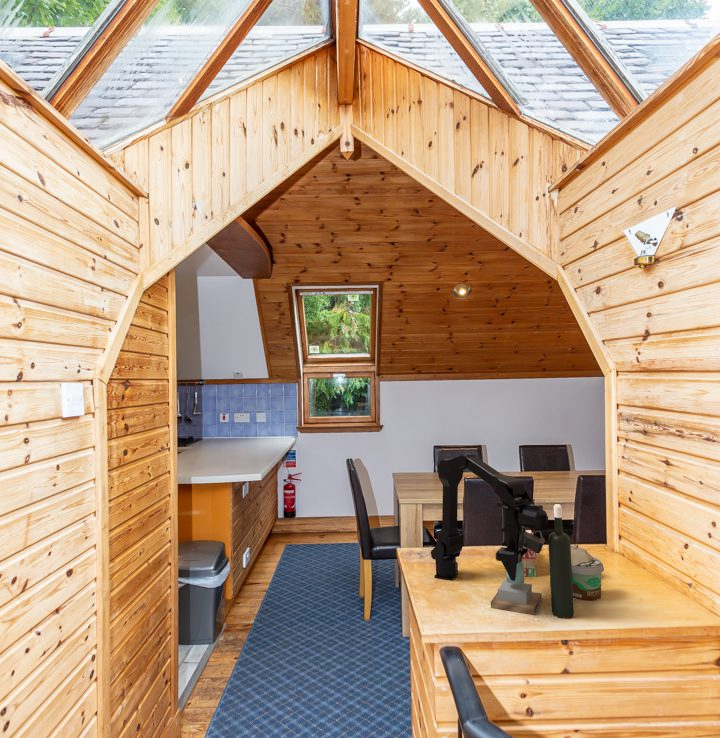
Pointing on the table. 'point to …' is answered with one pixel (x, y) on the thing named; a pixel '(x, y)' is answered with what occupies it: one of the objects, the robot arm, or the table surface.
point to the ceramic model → (579, 555)
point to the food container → (587, 580)
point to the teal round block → (517, 575)
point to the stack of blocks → (529, 562)
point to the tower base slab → (517, 607)
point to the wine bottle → (560, 569)
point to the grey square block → (515, 592)
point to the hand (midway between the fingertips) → (515, 577)
